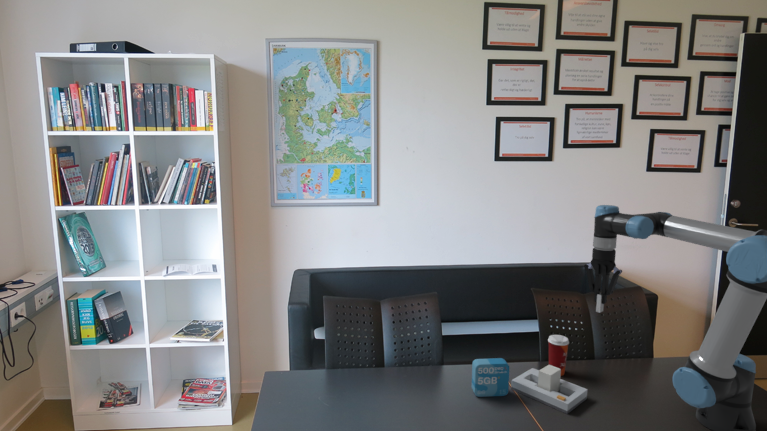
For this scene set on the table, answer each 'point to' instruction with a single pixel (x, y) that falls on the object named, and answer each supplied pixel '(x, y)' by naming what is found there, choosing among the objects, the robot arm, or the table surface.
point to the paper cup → (558, 351)
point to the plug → (549, 378)
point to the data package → (490, 377)
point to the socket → (559, 400)
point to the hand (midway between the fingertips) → (599, 311)
